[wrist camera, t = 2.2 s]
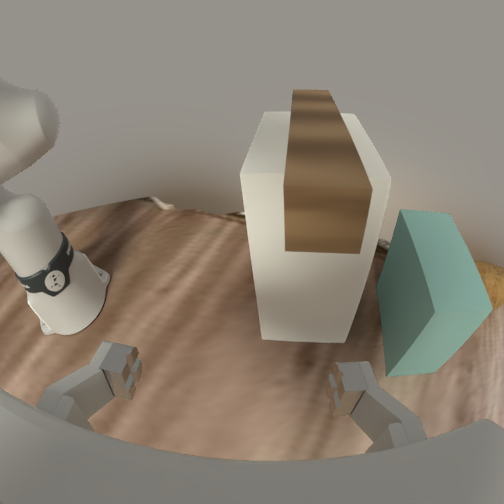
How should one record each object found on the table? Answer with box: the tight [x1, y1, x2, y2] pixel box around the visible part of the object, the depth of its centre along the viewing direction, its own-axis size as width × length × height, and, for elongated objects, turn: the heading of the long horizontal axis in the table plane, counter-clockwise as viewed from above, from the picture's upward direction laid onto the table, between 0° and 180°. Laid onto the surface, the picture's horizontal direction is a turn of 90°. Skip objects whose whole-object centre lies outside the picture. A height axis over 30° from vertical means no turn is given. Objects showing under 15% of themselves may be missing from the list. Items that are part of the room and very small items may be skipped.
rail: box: [283, 90, 373, 254], centre depth 21 cm, size 22×4×4 cm, turn 171°
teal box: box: [376, 209, 493, 377], centre depth 32 cm, size 8×16×16 cm, turn 171°
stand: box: [240, 111, 392, 343], centre depth 36 cm, size 12×18×26 cm, turn 171°
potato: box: [474, 261, 504, 311], centre depth 35 cm, size 10×14×8 cm
